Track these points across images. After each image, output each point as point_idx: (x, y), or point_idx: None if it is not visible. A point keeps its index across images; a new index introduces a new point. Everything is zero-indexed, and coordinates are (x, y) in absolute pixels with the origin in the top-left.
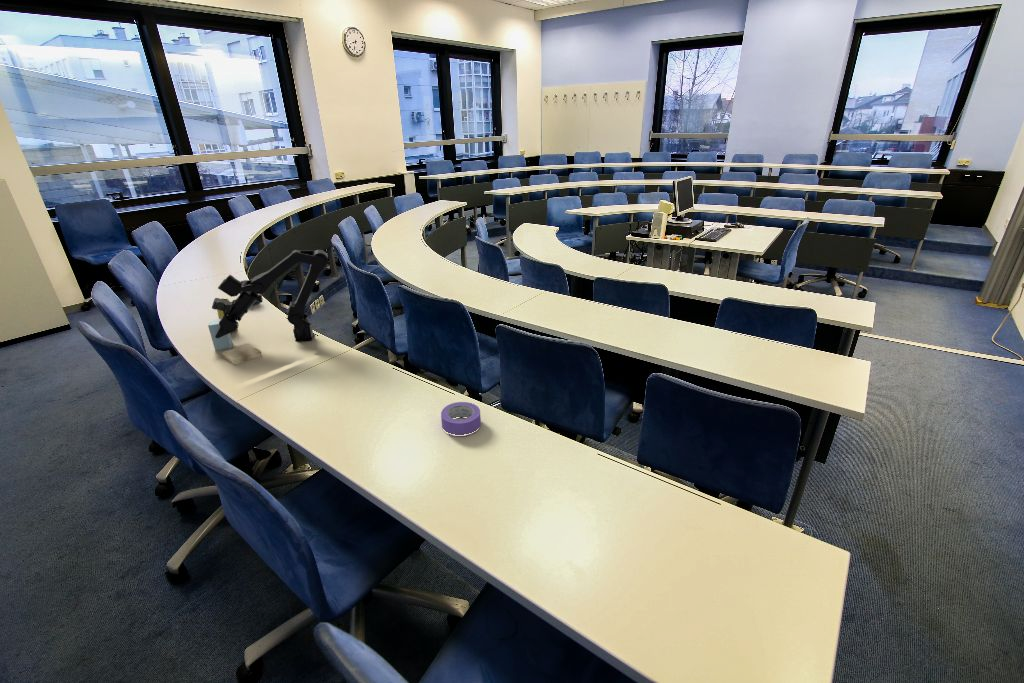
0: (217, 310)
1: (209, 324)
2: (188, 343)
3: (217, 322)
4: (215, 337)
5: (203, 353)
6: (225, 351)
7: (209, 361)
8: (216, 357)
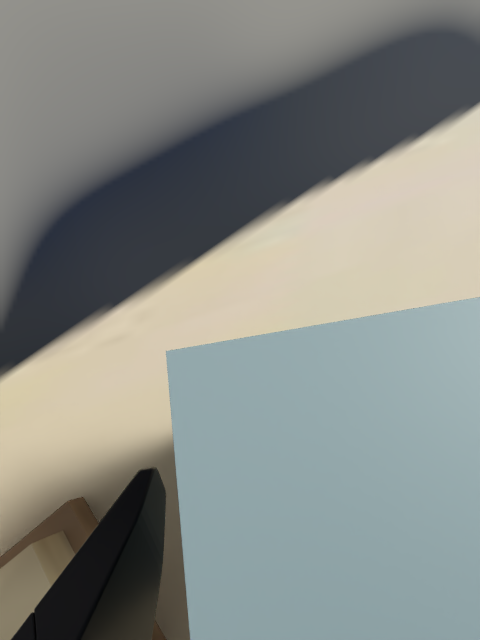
0: None
1: (215, 370)
2: (459, 161)
3: (344, 565)
4: (143, 474)
5: (258, 317)
6: (41, 585)
7: (94, 409)
8: (154, 442)
